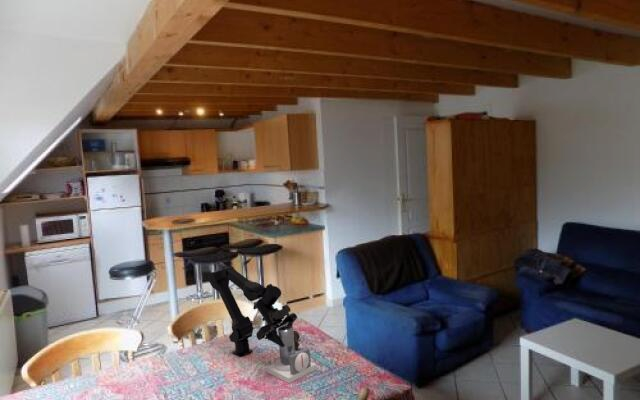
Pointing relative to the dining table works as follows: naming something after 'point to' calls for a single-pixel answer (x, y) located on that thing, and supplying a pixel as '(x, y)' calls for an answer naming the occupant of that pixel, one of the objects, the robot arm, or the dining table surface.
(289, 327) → the cylinder
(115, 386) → the dining table surface
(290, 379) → the dial scale
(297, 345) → the dark brown lobed figurine
